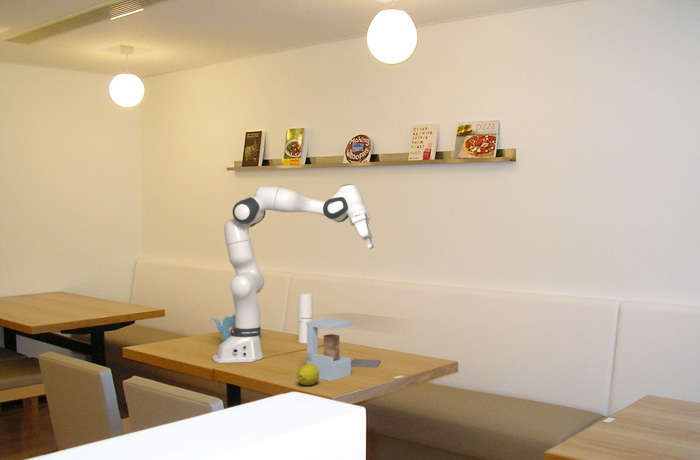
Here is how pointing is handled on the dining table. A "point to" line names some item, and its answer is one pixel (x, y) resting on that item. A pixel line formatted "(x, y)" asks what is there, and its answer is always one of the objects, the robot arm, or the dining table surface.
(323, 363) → the grey cantilever stand
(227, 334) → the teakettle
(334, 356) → the walnut block
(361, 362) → the felt mat
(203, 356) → the dining table surface
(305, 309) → the cylindrical container
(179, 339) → the dining table surface
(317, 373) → the lemon
